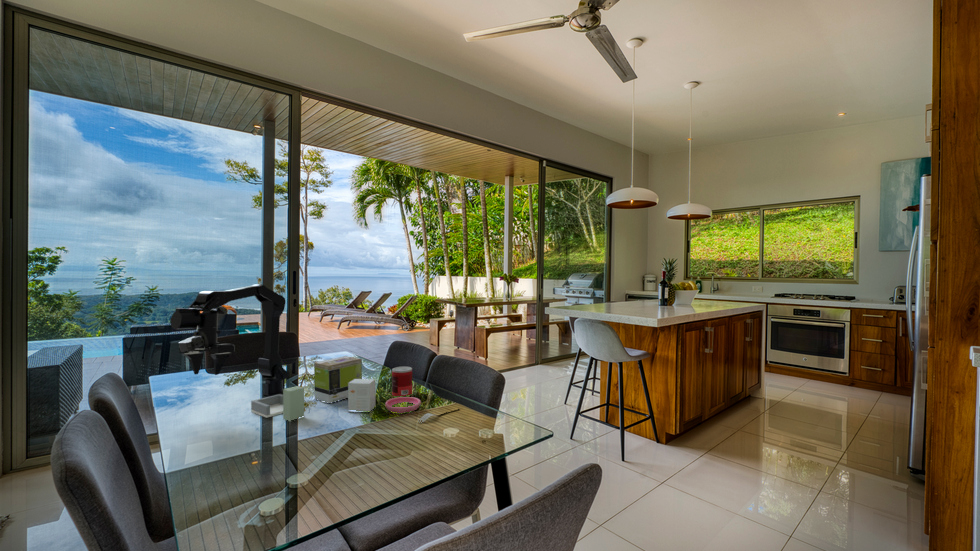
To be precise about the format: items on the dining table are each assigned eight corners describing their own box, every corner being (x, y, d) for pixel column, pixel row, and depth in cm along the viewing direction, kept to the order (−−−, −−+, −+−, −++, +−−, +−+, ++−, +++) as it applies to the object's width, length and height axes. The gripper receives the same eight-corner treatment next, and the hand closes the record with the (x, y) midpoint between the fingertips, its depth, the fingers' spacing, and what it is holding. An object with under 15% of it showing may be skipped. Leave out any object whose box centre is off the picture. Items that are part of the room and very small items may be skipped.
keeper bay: (251, 411, 149) (251, 400, 149) (280, 404, 157) (280, 393, 157) (266, 417, 143) (266, 406, 143) (295, 409, 152) (295, 398, 152)
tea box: (347, 390, 175) (347, 355, 175) (362, 395, 169) (362, 358, 169) (313, 399, 163) (313, 361, 163) (329, 405, 157) (329, 365, 157)
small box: (375, 408, 154) (375, 379, 154) (369, 413, 148) (370, 383, 148) (354, 407, 155) (354, 378, 155) (347, 412, 149) (347, 382, 149)
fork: (463, 416, 154) (463, 408, 154) (419, 426, 138) (420, 417, 138) (457, 414, 156) (457, 406, 156) (414, 424, 140) (414, 415, 140)
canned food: (415, 394, 171) (415, 367, 171) (405, 400, 163) (405, 371, 163) (398, 392, 173) (399, 365, 173) (388, 398, 166) (388, 370, 166)
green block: (283, 419, 142) (283, 389, 142) (297, 414, 146) (297, 385, 146) (289, 421, 140) (289, 391, 140) (304, 417, 144) (304, 387, 144)
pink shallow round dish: (401, 418, 144) (401, 409, 144) (377, 411, 151) (377, 402, 151) (427, 409, 154) (427, 400, 154) (404, 402, 161) (404, 394, 161)
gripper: (163, 329, 140) (161, 377, 139) (205, 328, 134) (203, 378, 133) (196, 328, 151) (195, 372, 150) (236, 327, 145) (235, 373, 144)
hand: (206, 374), depth 144 cm, fingers open, 9 cm apart
